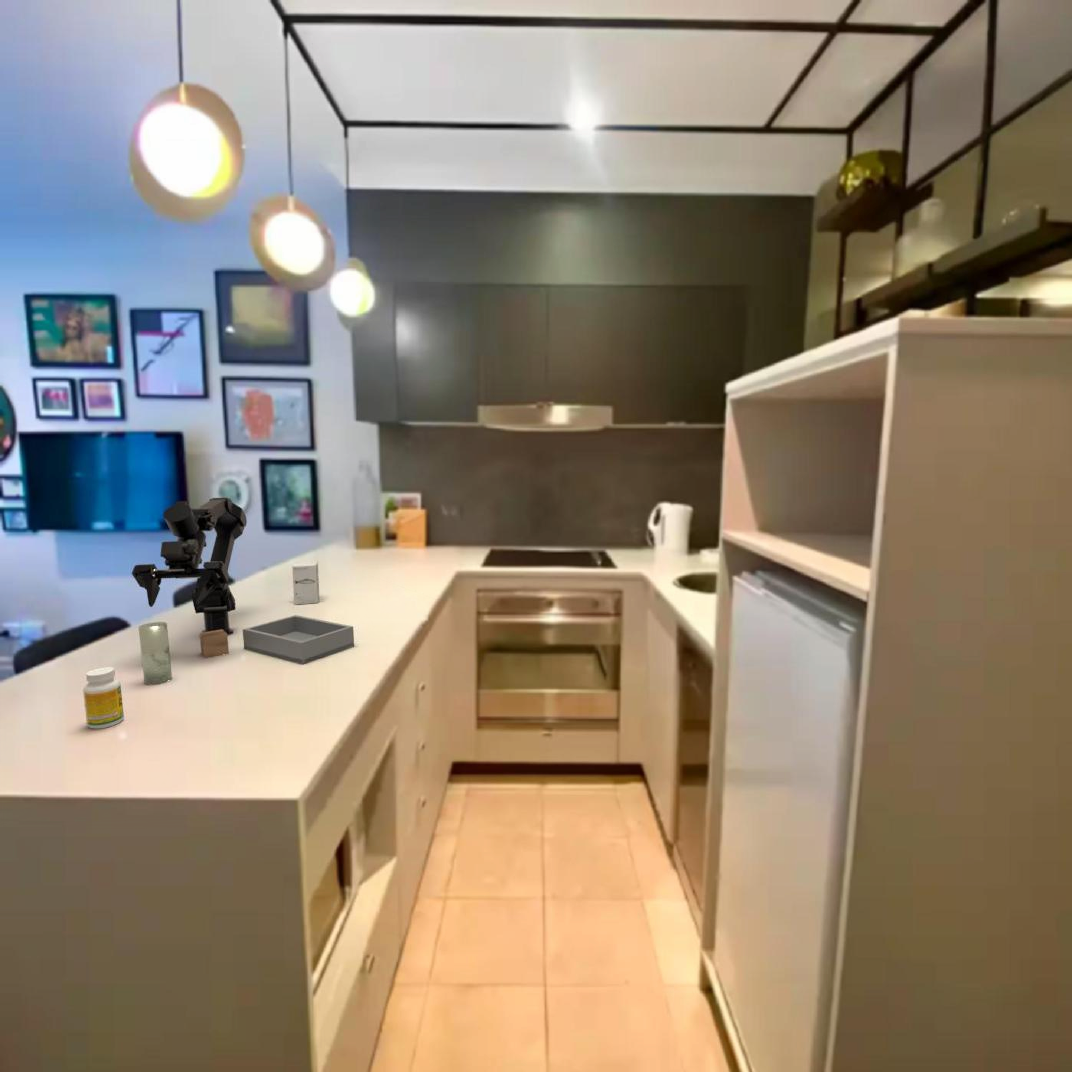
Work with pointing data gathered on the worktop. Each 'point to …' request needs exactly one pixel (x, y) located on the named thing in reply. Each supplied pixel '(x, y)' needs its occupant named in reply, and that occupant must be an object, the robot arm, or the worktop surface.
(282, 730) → the worktop surface
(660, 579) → the worktop surface
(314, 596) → the supplement box
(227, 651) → the walnut cube
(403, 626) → the worktop surface
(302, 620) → the tote
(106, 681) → the supplement bottle
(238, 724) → the worktop surface
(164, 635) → the sage tin
